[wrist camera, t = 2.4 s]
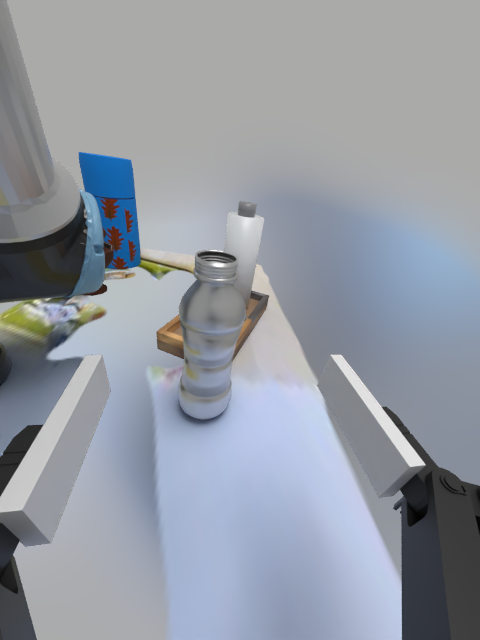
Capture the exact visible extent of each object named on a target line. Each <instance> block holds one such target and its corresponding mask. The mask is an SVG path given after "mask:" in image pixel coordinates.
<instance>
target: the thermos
mask: <svg viewBox="0 0 480 640" xmlns="http://www.w3.org/2000/svg"><path fill="white" fill-rule="evenodd" d="M79 162H80V168H81V173H82V178H83V183H84V187H85V192H88V193H90V194H92V195H93V196H94V198H95V200H96V202H97V205H98V209H99V212H100V217H101V223H102V227H103V229H105V231H106V236H105V238H104V241H105V242H107V243H110V244H112V245H114V257H113V260H112V262H111V264H110V265H109V266H108V267H107V268H112V269H128V268H133V267H136V266H138V265H140V262H141V259H140V243H139V232H138V221H137V210H136V200H135V189H134V178H133V168H132V163H131V160H128V159H123V158H117V157H111V156H104V155H97V154H90V153H82V152H79Z"/></svg>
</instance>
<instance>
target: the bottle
mask: <svg viewBox="0 0 480 640" xmlns="http://www.w3.org/2000/svg"><path fill="white" fill-rule="evenodd" d="M255 211H256V204H254V203H250V202H242V201H240V202H239V209H238V212H229V213H228V218H227V228H226V238H225V248H224V252H227V253H230V254H233V255H235V256H236V257H237V258H238V266H237V273H238V276H237V280H236V281H235V282H234V285H235V286H236V288H237V289H238V291H239V293H240V295H241V296H242V298H243V300H244V303H245V308H246V310H247V309H248V306H249V301H250V295H251V289H252V284H253V278H254V273H255V267H256V262H257V255H258V250H259V245H260V239H261V234H262V228H263V222H264V218H263V217H261V216H258V215H255Z"/></svg>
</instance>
